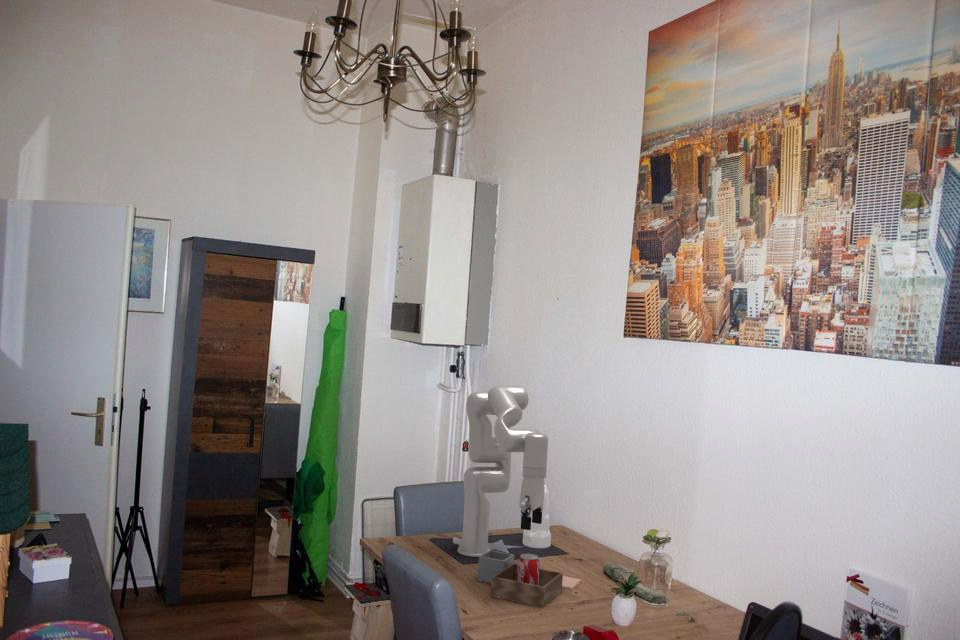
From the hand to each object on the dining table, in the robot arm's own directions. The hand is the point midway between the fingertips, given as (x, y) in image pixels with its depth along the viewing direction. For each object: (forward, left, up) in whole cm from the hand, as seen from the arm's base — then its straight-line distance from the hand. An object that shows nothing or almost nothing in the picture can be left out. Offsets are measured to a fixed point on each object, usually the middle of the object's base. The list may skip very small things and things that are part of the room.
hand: (531, 526), depth 254 cm
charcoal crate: (-14, +7, -22) cm, 27 cm away
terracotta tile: (+6, +17, -22) cm, 28 cm away
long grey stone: (+27, +29, -22) cm, 45 cm away
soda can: (0, 0, -22) cm, 22 cm away
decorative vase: (-18, +56, -22) cm, 63 cm away
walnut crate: (0, 0, -22) cm, 22 cm away
